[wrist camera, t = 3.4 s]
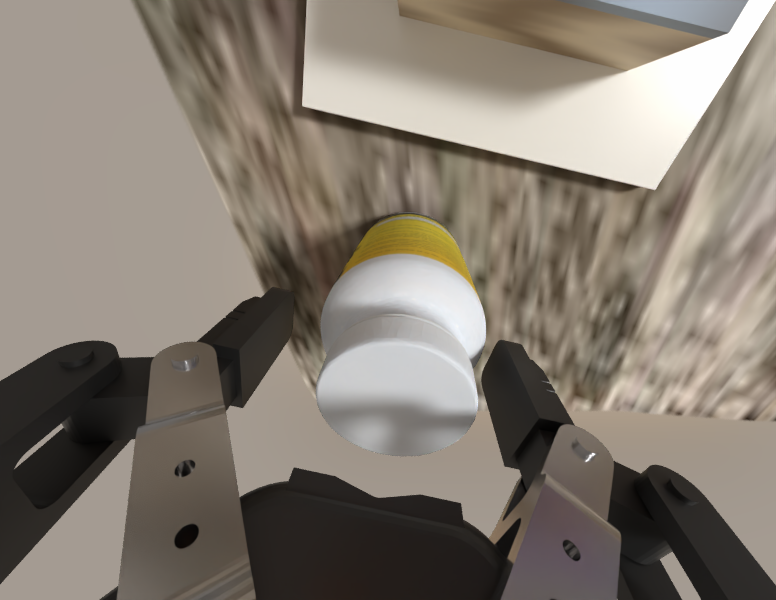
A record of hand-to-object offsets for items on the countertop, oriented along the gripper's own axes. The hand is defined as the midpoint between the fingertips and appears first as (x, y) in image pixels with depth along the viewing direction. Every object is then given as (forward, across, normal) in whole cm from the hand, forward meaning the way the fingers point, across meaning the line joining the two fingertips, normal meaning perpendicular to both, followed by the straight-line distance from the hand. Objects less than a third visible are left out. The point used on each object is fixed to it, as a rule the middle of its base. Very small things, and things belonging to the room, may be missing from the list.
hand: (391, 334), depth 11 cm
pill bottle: (+8, 0, 0) cm, 8 cm away
